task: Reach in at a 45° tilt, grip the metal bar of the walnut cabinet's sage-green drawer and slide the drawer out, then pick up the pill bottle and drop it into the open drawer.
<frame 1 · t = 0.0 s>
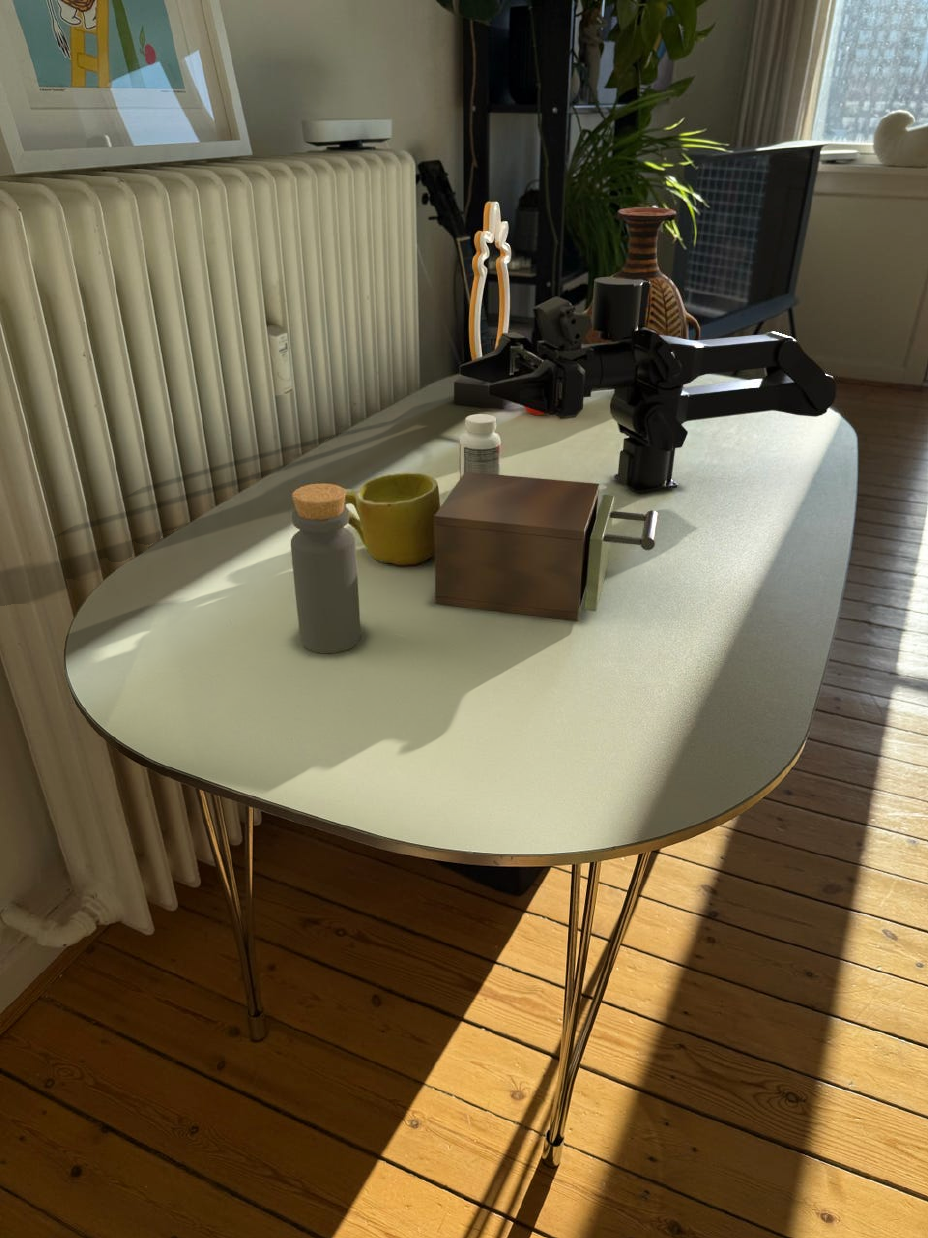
hand: (473, 379, 107), 17 cm above the table, tool horizontal, fingers open, 9 cm apart
bottle: (330, 639, 87), on the table
vase: (629, 390, 164), on the table
apple: (541, 413, 152), on the table
white statuette: (486, 400, 158), on the table
mug: (388, 551, 104), on the table
cabinet: (517, 584, 97), on the table
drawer: (563, 547, 93), point 5 cm above the table, slide at 0.5 cm
pill bottle: (479, 490, 121), on the table
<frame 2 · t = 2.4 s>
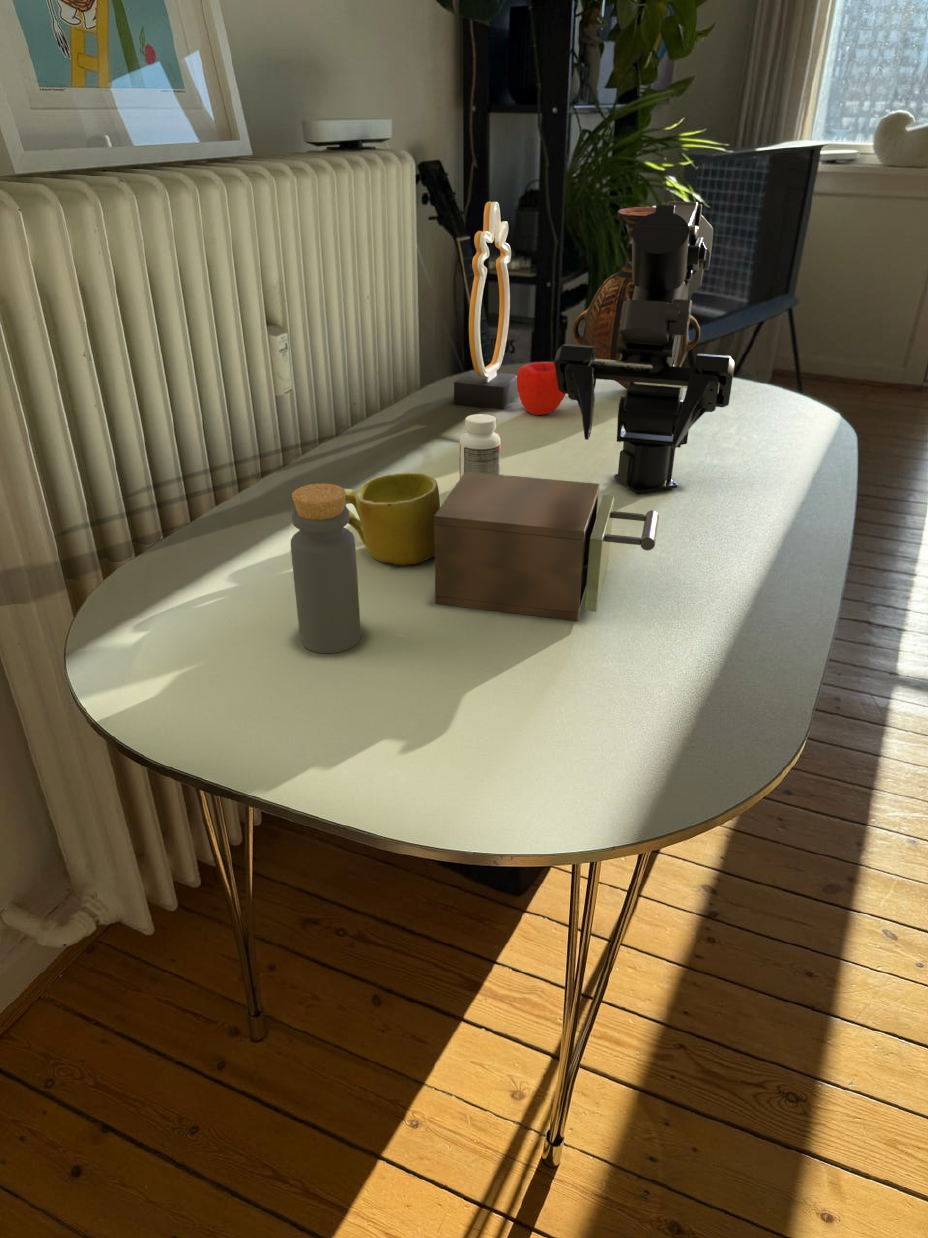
hand: (629, 441, 94), 14 cm above the table, tool tilted 50°, fingers open, 9 cm apart
nothing on the table moved.
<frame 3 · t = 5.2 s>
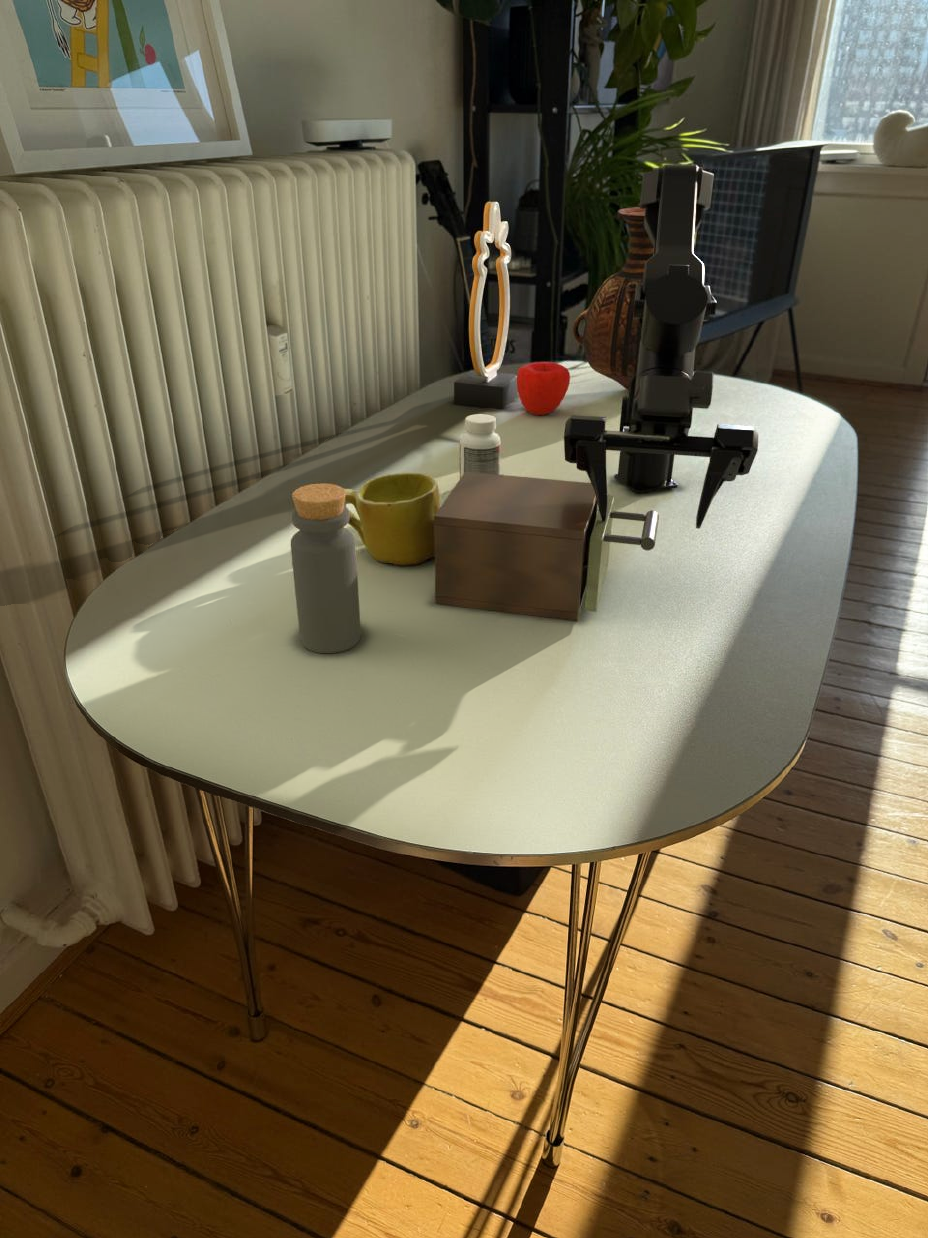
hand: (650, 523, 88), 9 cm above the table, tool tilted 45°, fingers open, 9 cm apart
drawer: (563, 547, 93), point 5 cm above the table, slide at 0.5 cm, touching gripper
everything else where it was.
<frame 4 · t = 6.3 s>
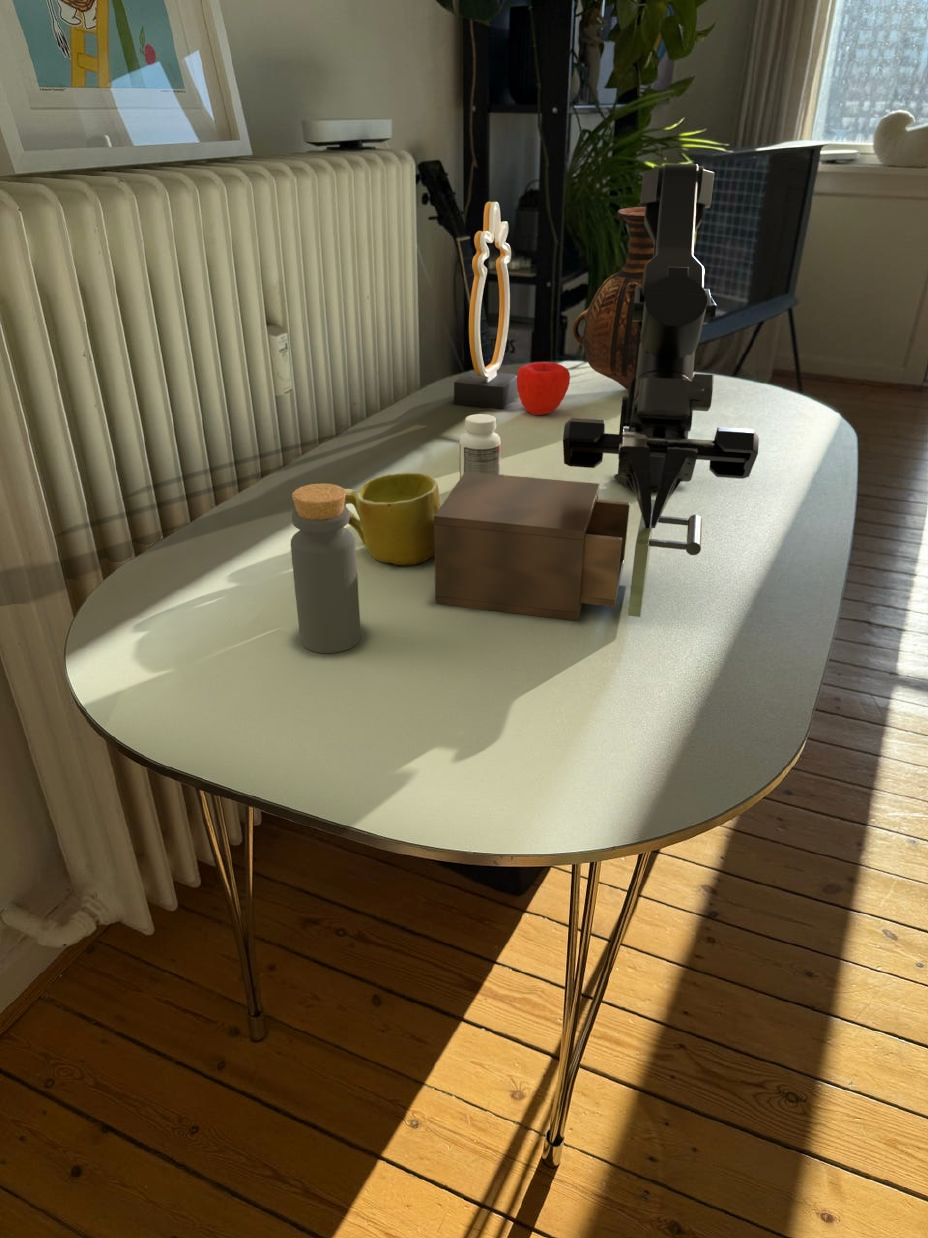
hand: (650, 526, 88), 9 cm above the table, tool tilted 45°, fingers closed, pressing on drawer
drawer: (605, 551, 93), point 5 cm above the table, slide at 4.8 cm, touching gripper
everything else where it was.
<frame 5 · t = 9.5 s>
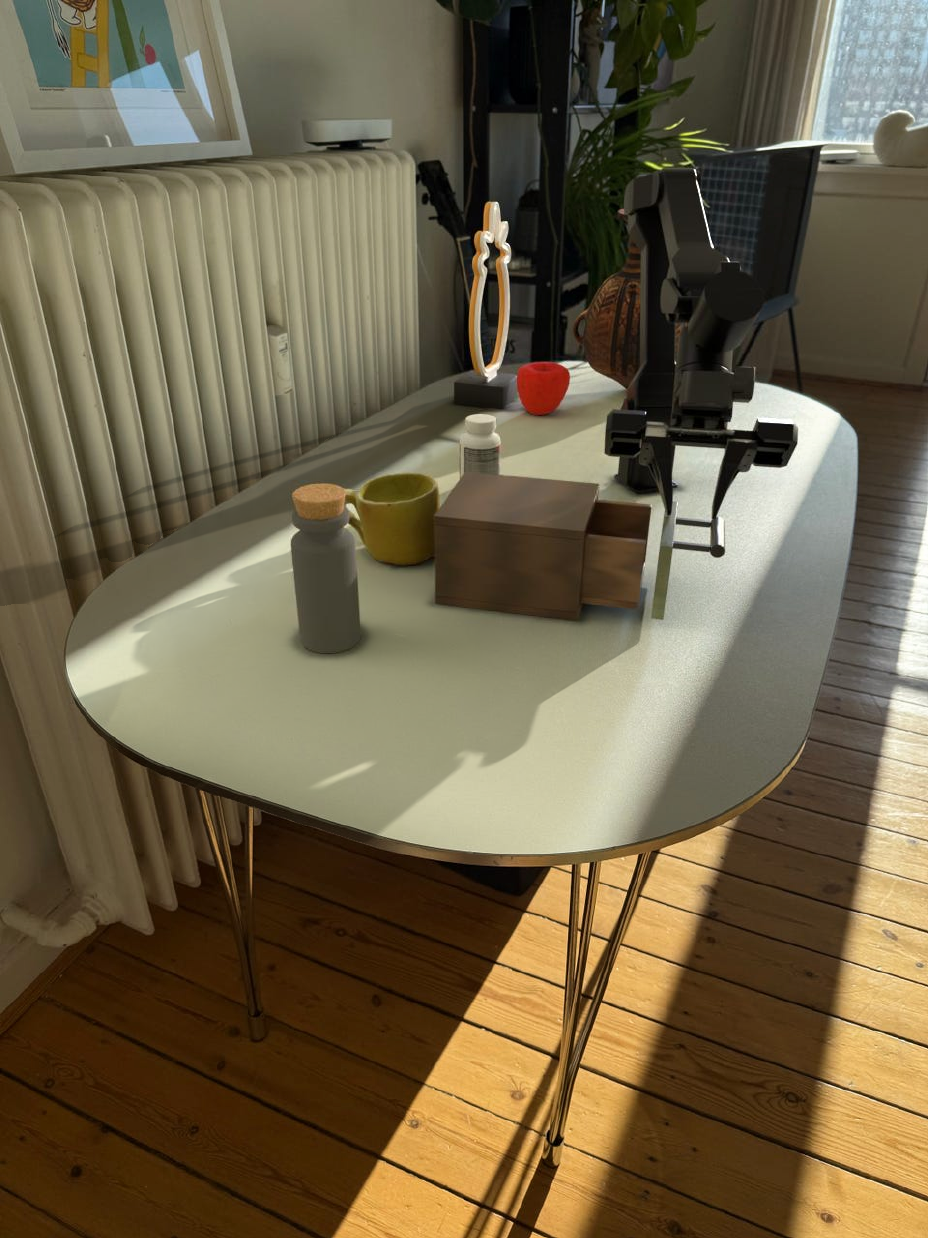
hand: (691, 515, 90), 9 cm above the table, tool tilted 45°, fingers open, 4 cm apart
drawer: (627, 554, 92), point 5 cm above the table, slide at 7.1 cm
everything else where it was.
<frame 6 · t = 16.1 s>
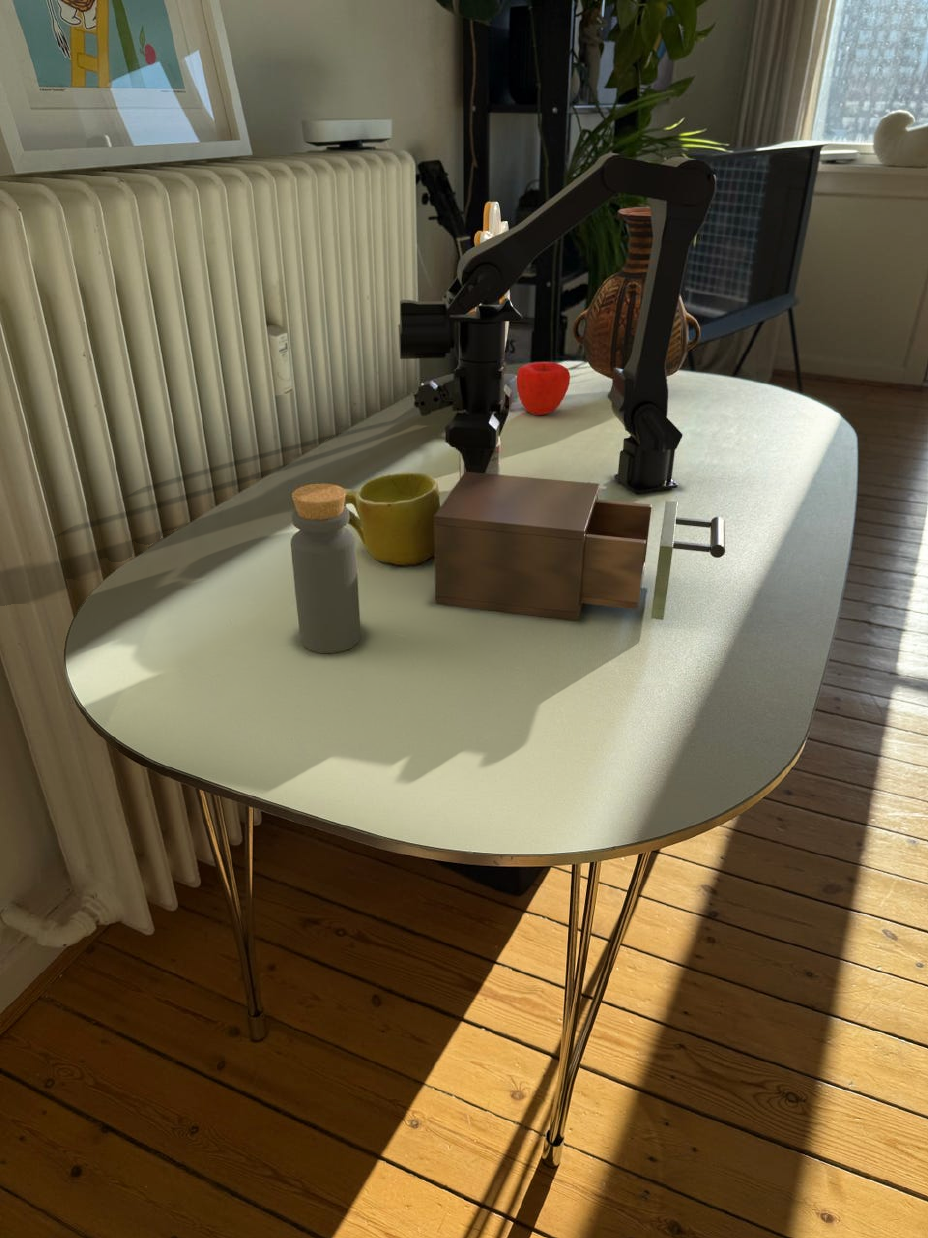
hand: (479, 475, 120), 2 cm above the table, tool pointing down
pill bottle: (479, 490, 121), on the table, touching gripper
everything else where it was.
when the fingers open (9 cm above the table, at t = 24.6 s): pill bottle stays where it is, resting on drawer.
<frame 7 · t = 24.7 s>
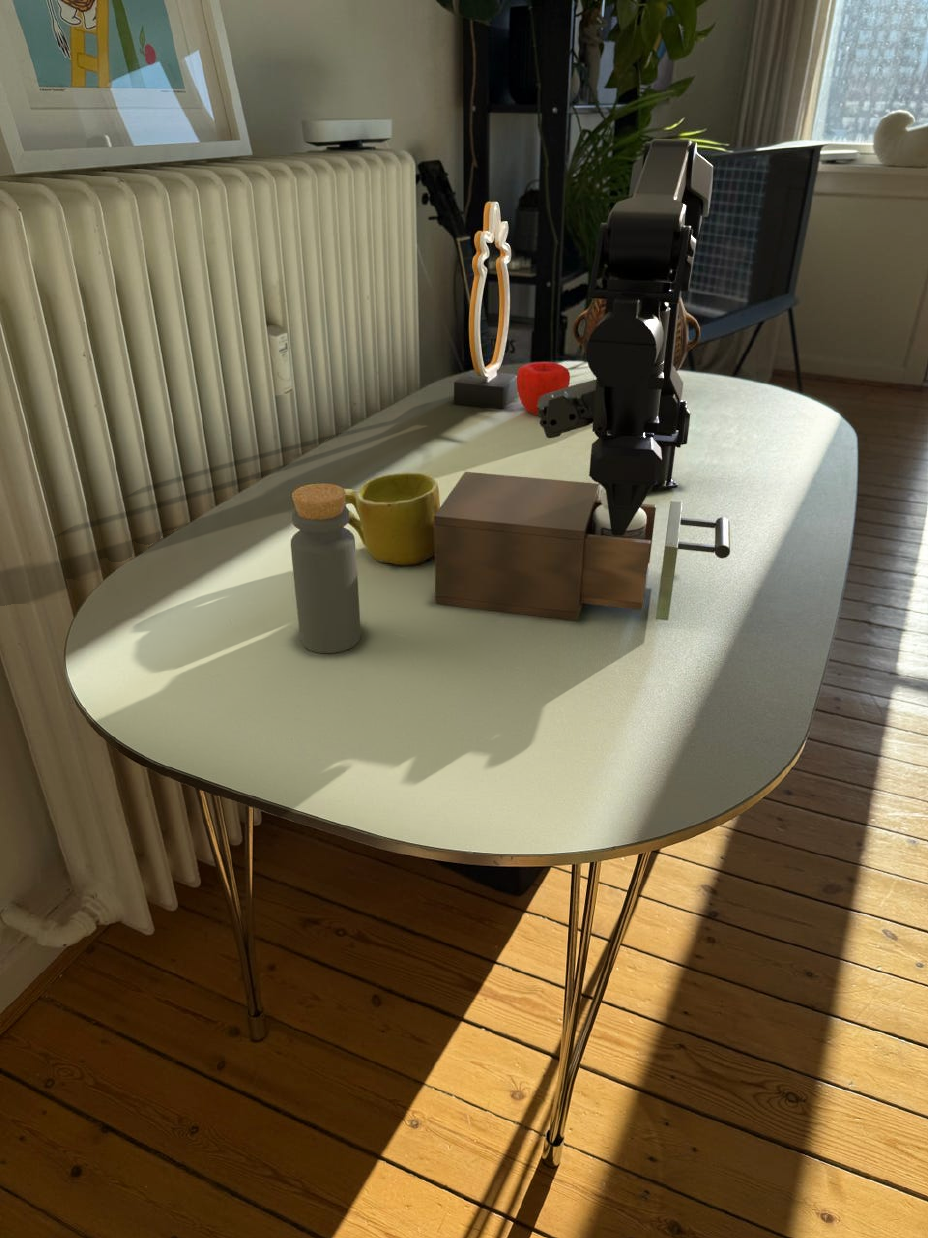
hand: (617, 516, 90), 9 cm above the table, tool pointing down, fingers open, 9 cm apart
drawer: (632, 554, 92), point 5 cm above the table, slide at 7.6 cm, touching pill bottle
pill bottle: (613, 579, 94), point 2 cm above the table, touching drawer
everything else where it was.
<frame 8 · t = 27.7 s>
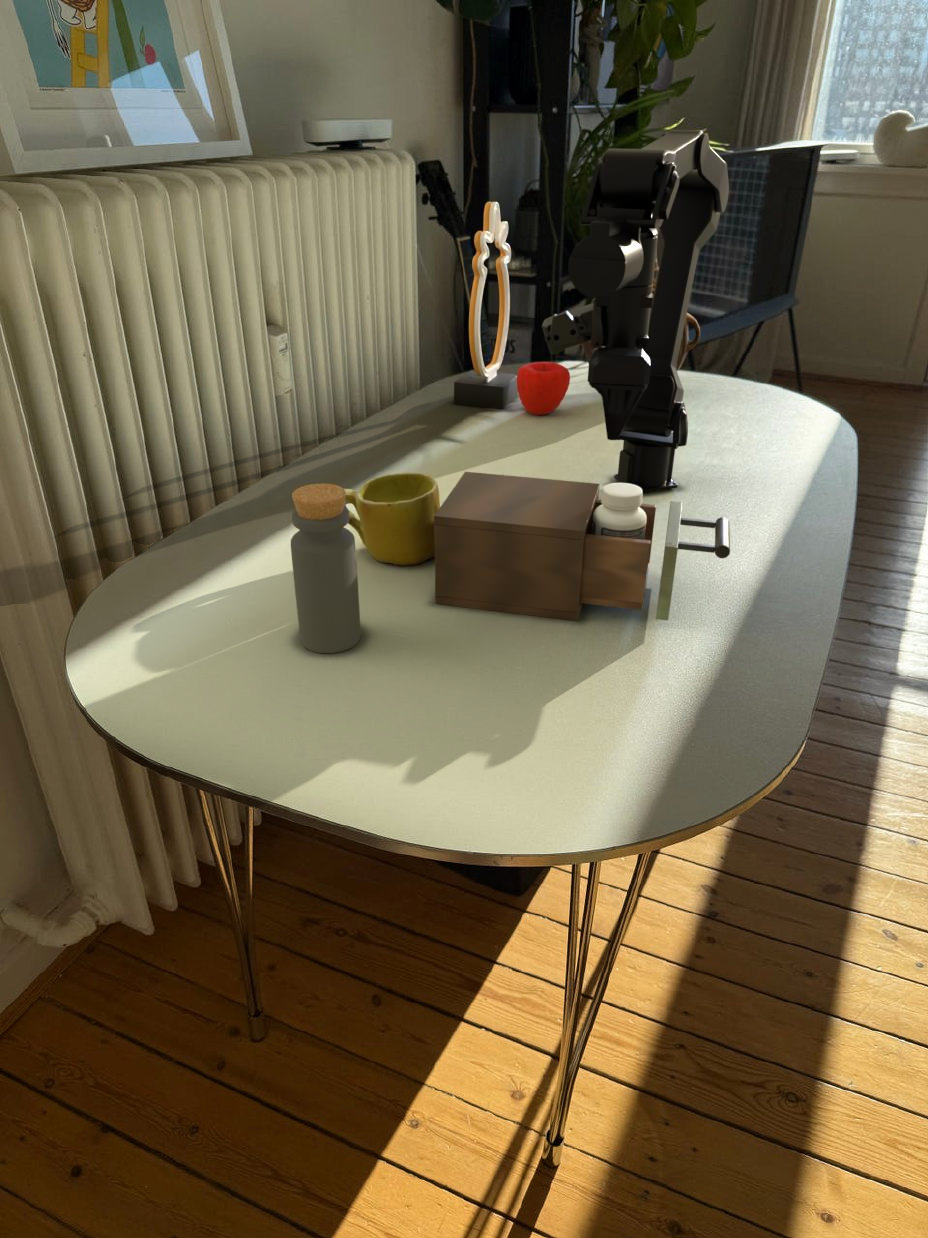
hand: (612, 426, 103), 13 cm above the table, tool pointing down, fingers open, 9 cm apart
nothing on the table moved.
at the end: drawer slide at 7.6 cm; pill bottle inside the target area in the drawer (0.9 cm from its centre), point 1.9 cm above the cabinet's base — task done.
